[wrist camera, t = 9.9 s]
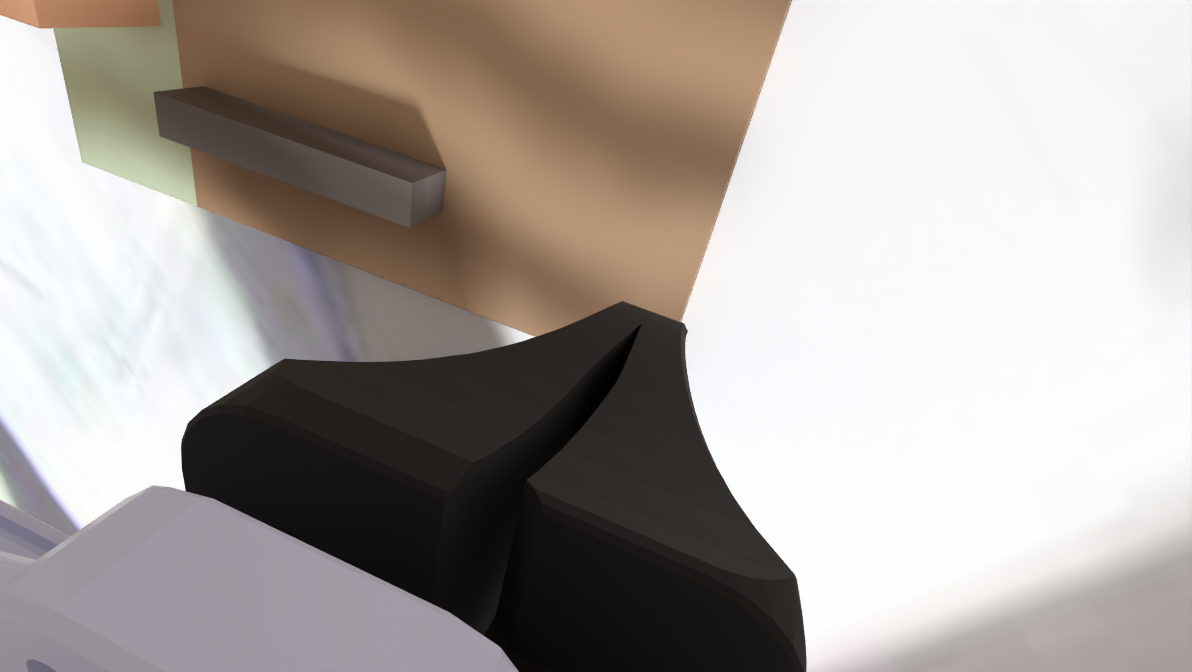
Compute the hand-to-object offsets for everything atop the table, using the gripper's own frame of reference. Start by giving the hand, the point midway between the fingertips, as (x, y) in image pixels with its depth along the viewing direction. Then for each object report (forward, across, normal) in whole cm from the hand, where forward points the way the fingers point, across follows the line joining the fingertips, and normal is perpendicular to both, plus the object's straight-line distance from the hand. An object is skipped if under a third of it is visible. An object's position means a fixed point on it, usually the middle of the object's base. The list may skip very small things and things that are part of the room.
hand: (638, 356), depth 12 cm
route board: (+9, +13, -3) cm, 16 cm away
